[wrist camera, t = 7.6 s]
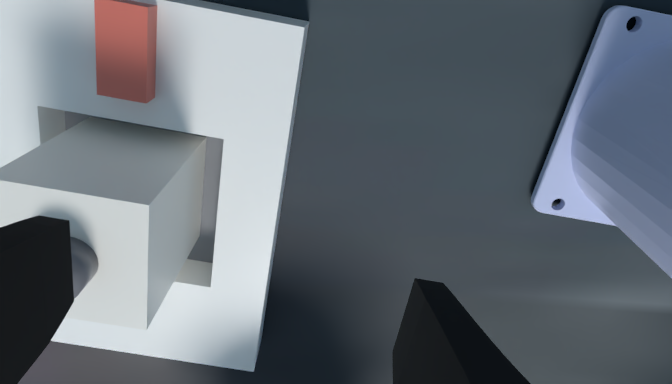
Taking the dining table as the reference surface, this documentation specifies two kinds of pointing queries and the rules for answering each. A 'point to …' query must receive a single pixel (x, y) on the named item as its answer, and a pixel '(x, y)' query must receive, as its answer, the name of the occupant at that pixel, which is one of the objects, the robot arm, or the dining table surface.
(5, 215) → the plug
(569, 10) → the dining table surface
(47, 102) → the socket plate
